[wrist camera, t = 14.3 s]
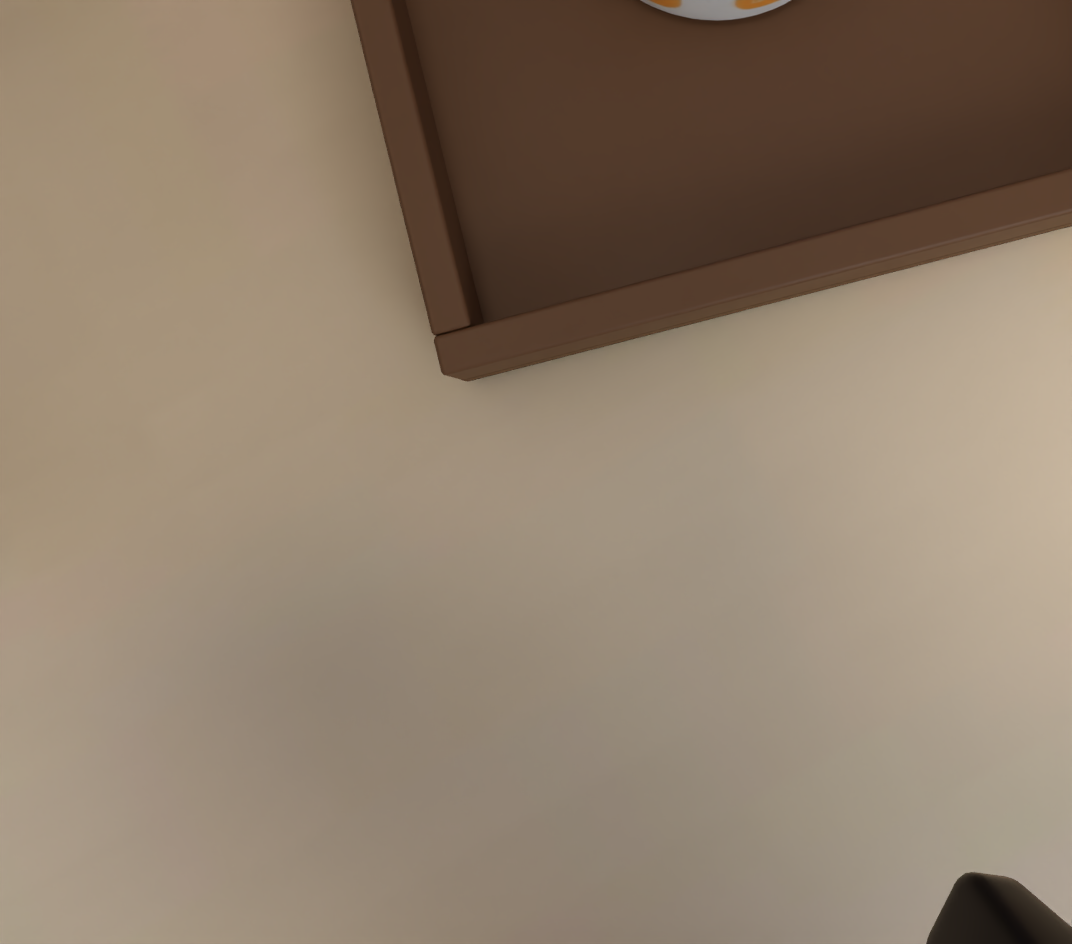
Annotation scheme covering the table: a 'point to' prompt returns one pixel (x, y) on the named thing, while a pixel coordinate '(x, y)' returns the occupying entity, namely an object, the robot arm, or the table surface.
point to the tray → (703, 155)
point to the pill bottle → (715, 8)
